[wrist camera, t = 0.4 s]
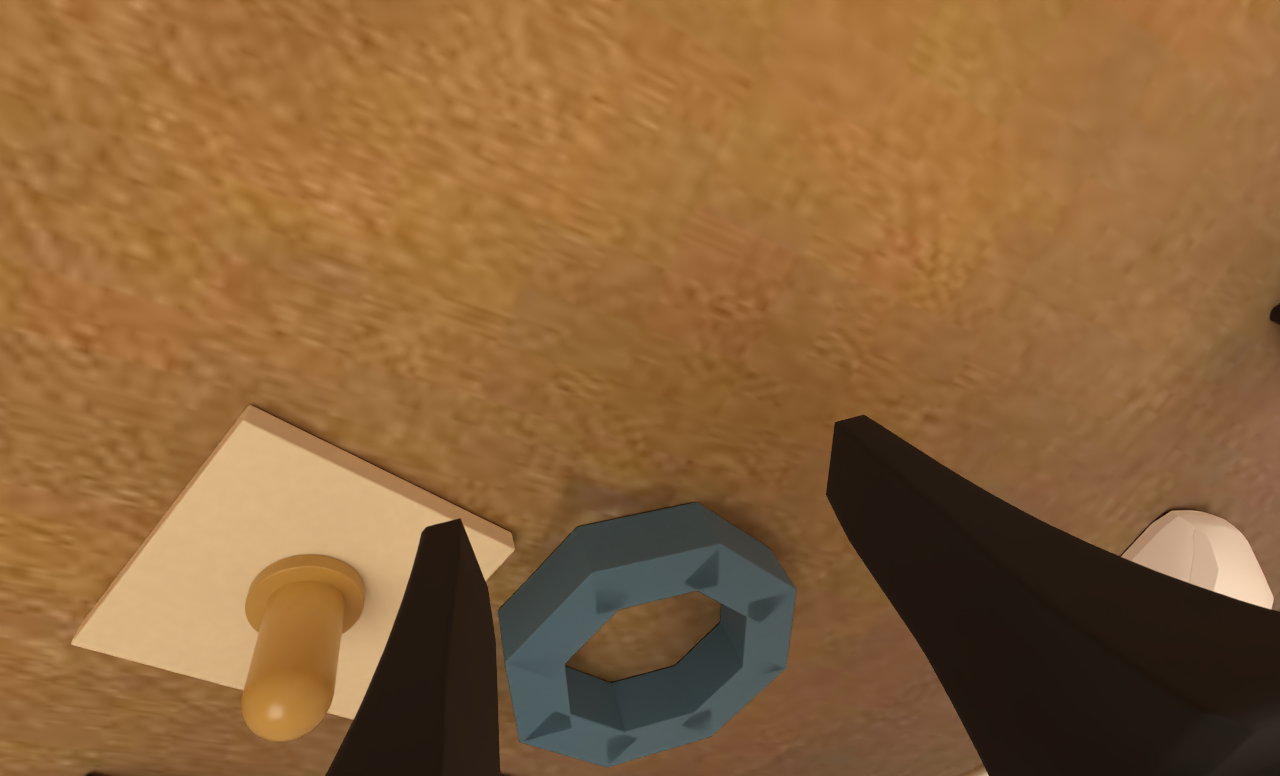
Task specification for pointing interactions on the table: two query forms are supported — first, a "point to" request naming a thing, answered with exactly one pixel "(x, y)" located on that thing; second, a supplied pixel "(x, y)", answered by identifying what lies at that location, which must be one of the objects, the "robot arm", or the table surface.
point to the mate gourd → (1276, 315)
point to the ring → (628, 576)
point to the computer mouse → (1202, 555)
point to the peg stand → (278, 575)
